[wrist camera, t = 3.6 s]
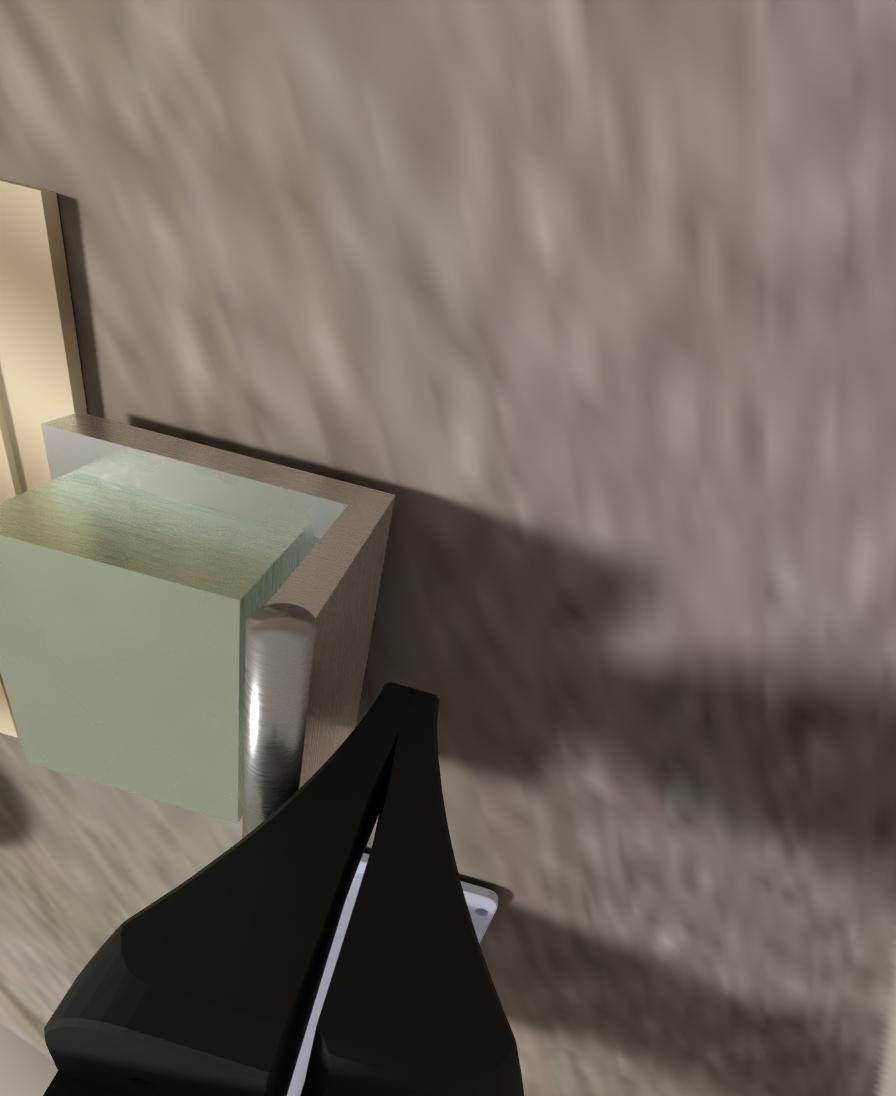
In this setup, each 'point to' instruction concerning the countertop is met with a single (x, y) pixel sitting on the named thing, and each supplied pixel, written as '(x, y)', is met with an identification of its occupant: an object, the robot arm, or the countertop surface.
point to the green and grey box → (186, 616)
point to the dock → (32, 347)
